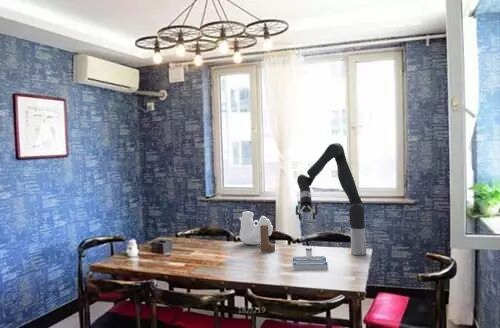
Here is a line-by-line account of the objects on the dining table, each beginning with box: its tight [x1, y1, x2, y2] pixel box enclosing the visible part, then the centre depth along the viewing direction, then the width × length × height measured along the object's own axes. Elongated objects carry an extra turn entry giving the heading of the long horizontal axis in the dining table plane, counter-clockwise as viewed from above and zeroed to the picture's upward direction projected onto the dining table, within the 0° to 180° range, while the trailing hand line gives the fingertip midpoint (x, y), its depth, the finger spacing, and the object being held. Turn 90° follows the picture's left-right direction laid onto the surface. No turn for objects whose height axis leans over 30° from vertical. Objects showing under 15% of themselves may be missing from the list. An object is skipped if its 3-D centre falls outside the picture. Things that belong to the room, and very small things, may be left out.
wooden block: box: [260, 225, 276, 253], centre depth 287 cm, size 9×4×18 cm, turn 66°
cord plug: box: [305, 246, 313, 259], centre depth 257 cm, size 4×4×9 cm
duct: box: [292, 255, 329, 271], centre depth 253 cm, size 20×20×4 cm
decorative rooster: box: [238, 210, 274, 246], centre depth 308 cm, size 25×16×25 cm, turn 67°
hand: (307, 219), depth 268 cm, fingers open, 8 cm apart
